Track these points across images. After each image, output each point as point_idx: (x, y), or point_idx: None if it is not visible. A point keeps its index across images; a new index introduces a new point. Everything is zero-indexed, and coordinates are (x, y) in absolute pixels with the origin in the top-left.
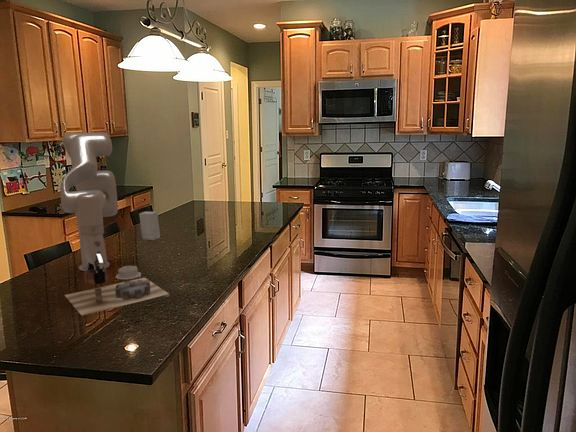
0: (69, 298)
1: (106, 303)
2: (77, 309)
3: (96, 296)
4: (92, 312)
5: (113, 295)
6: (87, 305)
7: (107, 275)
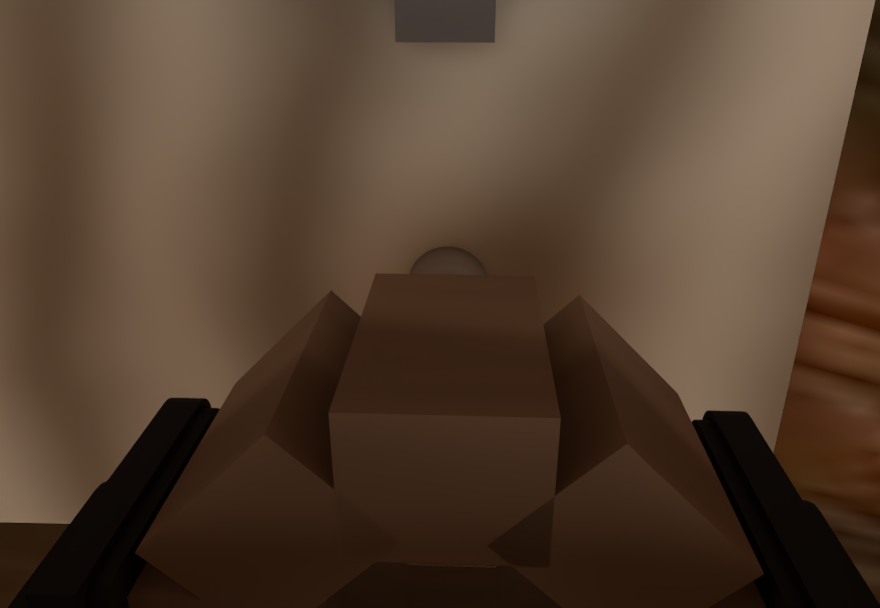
0: None
1: (591, 231)
2: None
3: None
4: None
5: (321, 41)
6: None
7: (606, 356)
